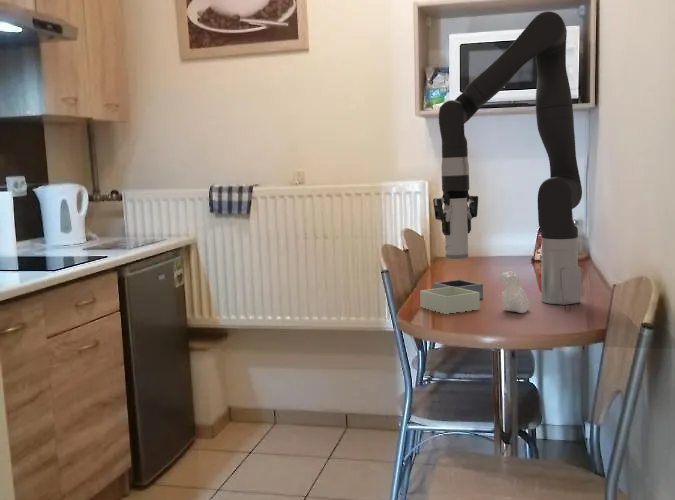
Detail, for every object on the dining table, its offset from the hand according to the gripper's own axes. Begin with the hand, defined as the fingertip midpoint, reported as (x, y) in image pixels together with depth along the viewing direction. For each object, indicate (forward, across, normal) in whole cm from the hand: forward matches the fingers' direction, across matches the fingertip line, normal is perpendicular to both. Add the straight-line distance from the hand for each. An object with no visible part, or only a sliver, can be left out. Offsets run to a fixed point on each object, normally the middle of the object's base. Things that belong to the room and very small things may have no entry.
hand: (456, 233), depth 197 cm
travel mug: (+7, 0, 0) cm, 7 cm away
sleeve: (+18, 0, 0) cm, 18 cm away
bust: (+19, +1, -23) cm, 29 cm away
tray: (+18, -11, -11) cm, 24 cm away
